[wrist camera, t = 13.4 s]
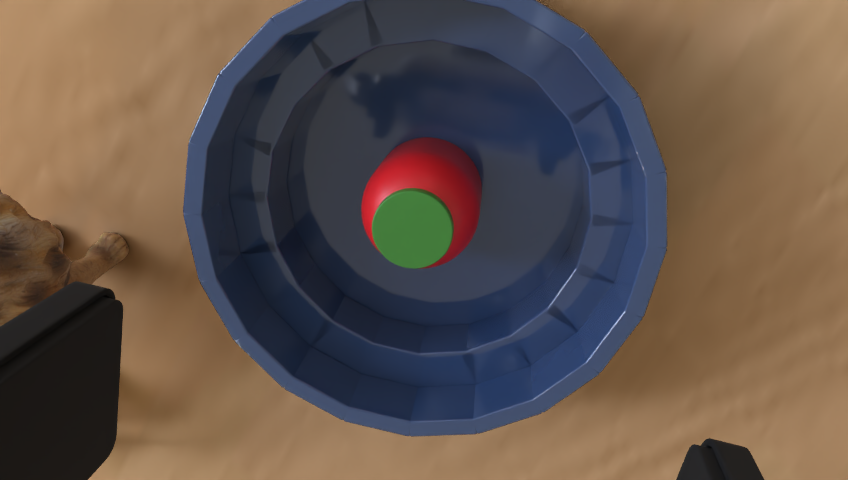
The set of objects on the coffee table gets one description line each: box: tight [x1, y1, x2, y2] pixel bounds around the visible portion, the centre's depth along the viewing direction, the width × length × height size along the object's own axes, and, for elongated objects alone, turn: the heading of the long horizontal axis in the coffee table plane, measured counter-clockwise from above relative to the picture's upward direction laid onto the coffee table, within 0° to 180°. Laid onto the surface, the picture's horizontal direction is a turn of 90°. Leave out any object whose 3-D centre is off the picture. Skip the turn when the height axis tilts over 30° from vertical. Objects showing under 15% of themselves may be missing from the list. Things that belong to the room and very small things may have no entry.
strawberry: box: [361, 137, 482, 269], centre depth 22 cm, size 4×4×5 cm
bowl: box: [183, 0, 667, 436], centre depth 23 cm, size 14×14×5 cm
